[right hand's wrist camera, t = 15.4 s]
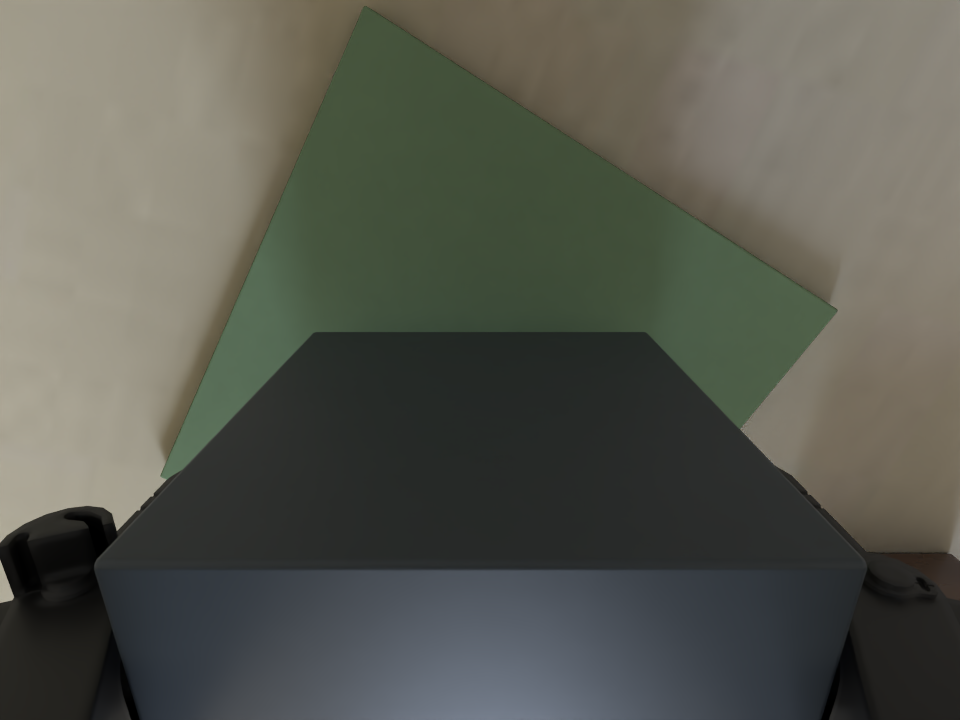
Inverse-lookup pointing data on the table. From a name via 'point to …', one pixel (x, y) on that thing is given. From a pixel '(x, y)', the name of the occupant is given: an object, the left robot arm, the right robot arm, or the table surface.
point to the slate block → (480, 546)
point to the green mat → (485, 242)
